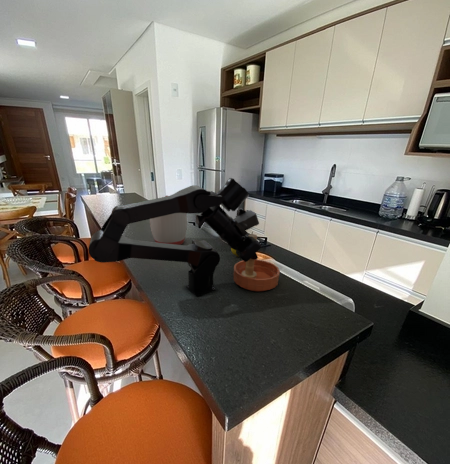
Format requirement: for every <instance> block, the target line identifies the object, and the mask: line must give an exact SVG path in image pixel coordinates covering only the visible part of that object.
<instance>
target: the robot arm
mask: <svg viewBox="0 0 450 464" xmlns="http://www.w3.org/2000/svg"><path fill="white" fill-rule="evenodd" d="M165 196H166V197H165ZM165 196H162V197H157V198H153V199H147V200H143V201H139V202H134V203H133V202H132V203H129V204H123V205H121V204H119V205H116V206H114V207H113V208H112V210H111V213H110V215H109V216H108V218H107V219H106V220H105V222H104V223H103V225H102V226H101V228H100V230H97V231H95V232H94V233H93V234H92V235H91V236H90V240H89V244H88V245H89V246H88V248H87V249H88V254H89V256H90V258H92V259H93V260H94V261H95V262H98V263H102V264H105V263H117V262H121V261H125V260H128V259H137V260H138V259H139V260H140V259H141V260H152V261H163V262H164V261H165V262H179V263H187V265H188V266H189V268H190V269H189V270H188V271H187V273H188V274H187V276H188V284H186V285H185V288H186V289H187V290H188V291H190V293H192V294H193V295H194V296H195V297H200V296H203V295H205V294H208V293H211V292H214V291H215V290H216V288H215V287H214V273H215V271H216V269H217V266H218V265H219V264H220V261H221V255H220V253H219V252H218V251H217V250H216V249H215V248H214V247H213V245H212V244H210V243H209V242H207V241H206V240H205V239H203V240H198V239H195V238H192V239H191V243H189V244H186V245H185V244H181V245H176V244H167V243H158V242H155V241H147V240H138V239H132V238H129V237H126V236H124V235H123V234H124V232H125V230H126V228H127V227H128V225H130V224H135V223H139V222H142V221H148V220H150V219H152V218H156V217H161V216H165V215H169V214H174V213H187V214H188V215H189V214H195V223H196V224H197V225H198V227H202V226H203V225H204V224H206V225H207V226H209V227H210V229H212V230H213V231H214V232H215V233H216V234H217V235H218V236H219V238H221V240H222V241H223V242H224V243H226V244H227V245H228V246H229V248H230V249H231V248H232V249H235V250H236V254H237V255H238V256H239V258H240V259H241V261H244V262H247V261H248V260H249V259H254V260H256V259H257V260H258V259H259V256H258V254H257V253H258V251H259V250H260V249H262V244H261V243H260V241H258V239H257V240H256V239H255V238H253V237H248V235H247V234H248V230H250V229H252V228H253V227H257V226H259V225H260V221H259V218H258V216H257V213H256V212H255V211H254V210H250V209H249V210H248V209H246V210H245V209H243V208H242V207H240V206H241V205H242V204H243V203H244V202H245V201H246V200H247V199H248V198H249V196H250V193H249V192H248V190H247V189H246V188H245V187H243V186H242V185H241V184H240V183H239V182H237V181H236V180H235V178H232V177H229V178H228V179H227V180H226V181H225V183H224V185H222V187H221V188H220V189H219V190H218V191H217V192H215V191H213V190H207V189H204V188H203V187H201V186H199V185H194V184H193V185H189V186H187V187H184V188H182V189H180V190H178V191H176V192H174V193H173V194H170V195H165ZM222 207H223V208H222ZM239 207H240V208H239ZM225 210H226V211H227V212H230V211H232V212H236V215H235V217H234V218H233V217H232V216H230V215H229V214H228V213H227V212H226V211H225Z"/></svg>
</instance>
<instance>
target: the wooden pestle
mask: <svg viewBox="0 0 450 464" xmlns="http://www.w3.org/2000/svg"><path fill="white" fill-rule="evenodd" d="M247 236H248V237H253V238H255V239H256V240H257V241H258V235H257V234H254V233H249V234H248V235H247ZM254 261H255V260H254V259H249V260H248V261H247V262H246V267H245V270H244V271H242V273H241V275H243V276H246V277H249V278H256V276H257V274H256V272H254Z"/></svg>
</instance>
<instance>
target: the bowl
mask: <svg viewBox="0 0 450 464" xmlns="http://www.w3.org/2000/svg"><path fill="white" fill-rule="evenodd" d="M245 267H246V262H244V261H243V260H240V261H238V262H236V263H235V264H234V266H233V274H232V275H233V276H232V279H233V282H234V283H235V284H236V285H237V286H239V287H240V288H243V289H245V290H248V291H252V292H264V291H265V292H267V291H269V290H272V289H274V288H277V286H278V284H279V280H280V272H281V270H280V268H279V266H277V265H276V264H274V263H273V262H270V261H267V260H263V259H258V258H257V259H256V260H255V261H254V272H256V274H257V276H256V278H249V277H246V276H243V275H241V273H242V271H244V270H245Z"/></svg>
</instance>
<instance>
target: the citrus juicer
mask: <svg viewBox="0 0 450 464" xmlns="http://www.w3.org/2000/svg"><path fill="white" fill-rule="evenodd" d="M166 196H167V195H165V196H164V197H166ZM149 226H150V231H151V235H152V238H153V240H154V242H158V243H167V244H176V245H183V244H184V242H185V239H186V236H187V231H188V213H174V214H169V215H165V216H161V217H156V218H152V219H149Z"/></svg>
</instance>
